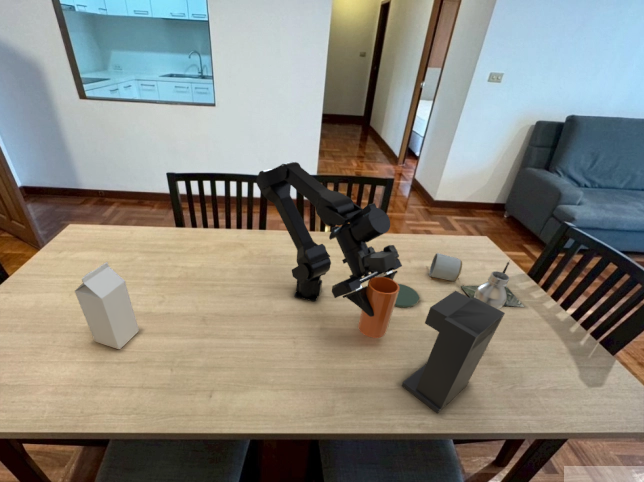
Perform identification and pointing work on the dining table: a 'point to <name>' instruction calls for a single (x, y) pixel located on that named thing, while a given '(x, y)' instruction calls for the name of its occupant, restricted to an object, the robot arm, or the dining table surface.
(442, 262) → the ceramic mug
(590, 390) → the dining table surface
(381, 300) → the orange cup
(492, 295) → the silver metal bottle
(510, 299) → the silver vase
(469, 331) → the coffee maker
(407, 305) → the saucer
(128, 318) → the milk carton
